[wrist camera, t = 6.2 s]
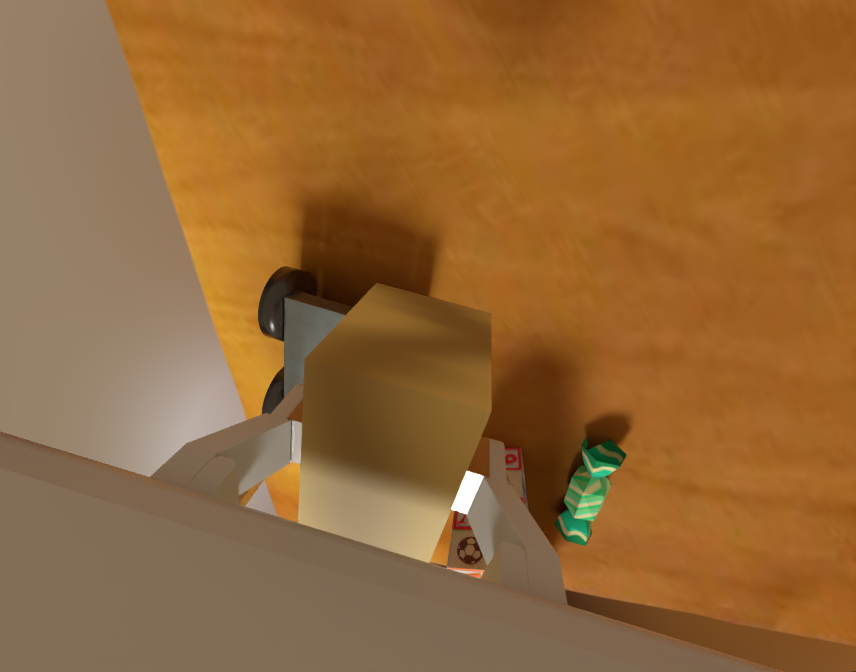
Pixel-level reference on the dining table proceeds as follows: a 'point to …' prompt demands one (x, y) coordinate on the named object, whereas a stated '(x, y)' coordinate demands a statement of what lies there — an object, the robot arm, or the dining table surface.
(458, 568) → the stack of blocks
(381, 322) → the block
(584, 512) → the candy
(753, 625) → the dining table surface
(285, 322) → the trolley
